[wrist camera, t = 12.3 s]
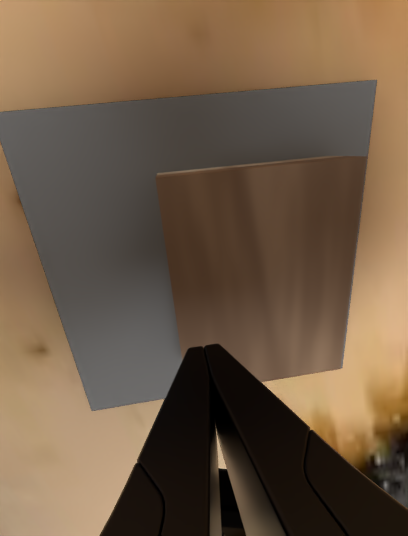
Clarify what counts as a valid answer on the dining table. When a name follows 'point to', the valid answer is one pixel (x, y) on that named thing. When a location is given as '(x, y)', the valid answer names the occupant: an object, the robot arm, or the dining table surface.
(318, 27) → the dining table surface
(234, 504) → the black angular block
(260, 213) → the tile
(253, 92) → the mat
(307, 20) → the dining table surface
